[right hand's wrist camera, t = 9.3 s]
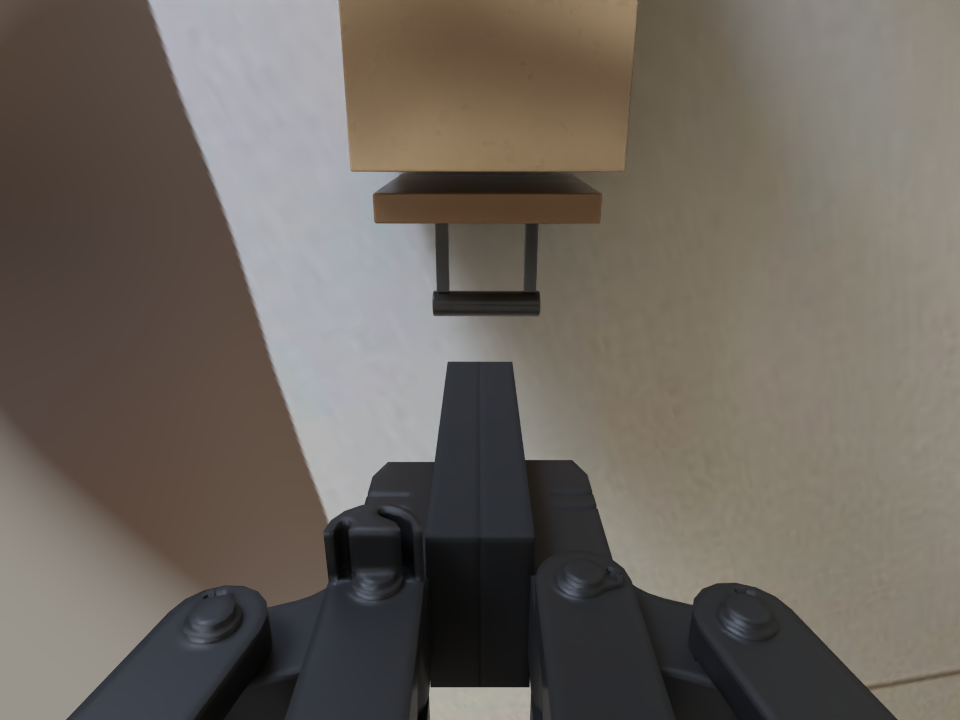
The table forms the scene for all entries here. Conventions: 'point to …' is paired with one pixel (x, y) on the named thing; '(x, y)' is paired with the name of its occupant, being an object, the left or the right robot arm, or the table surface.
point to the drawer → (487, 203)
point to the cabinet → (488, 84)
